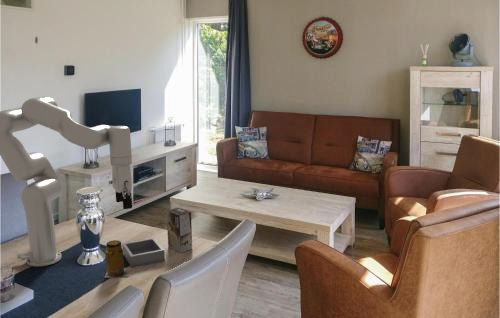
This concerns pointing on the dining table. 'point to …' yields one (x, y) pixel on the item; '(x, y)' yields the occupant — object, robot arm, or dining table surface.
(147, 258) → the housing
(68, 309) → the dining table surface
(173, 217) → the coffee box
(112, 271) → the condiment
